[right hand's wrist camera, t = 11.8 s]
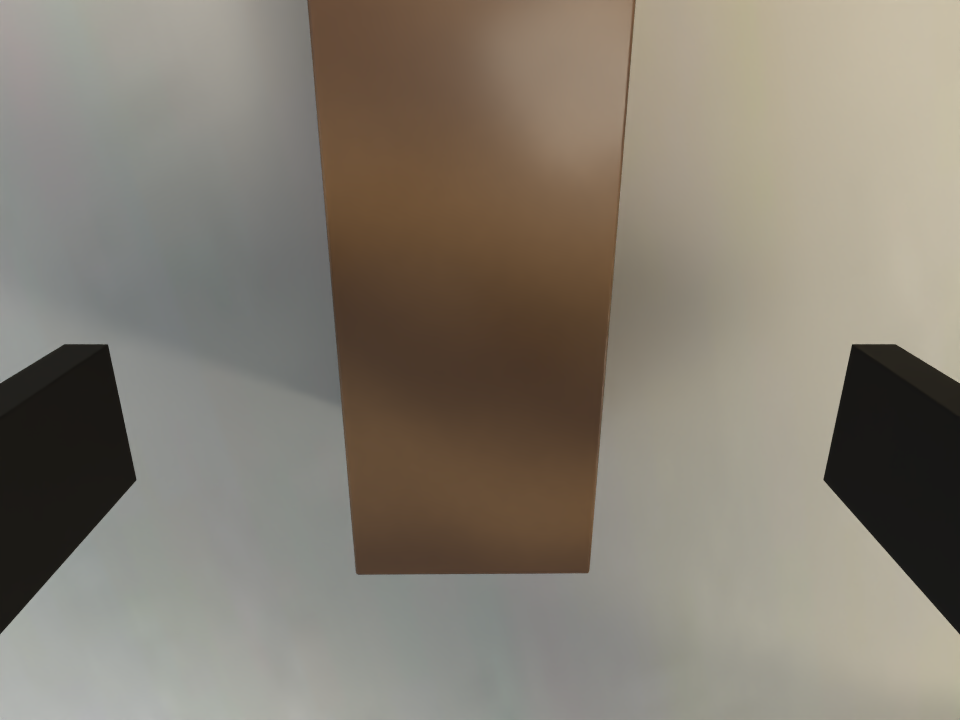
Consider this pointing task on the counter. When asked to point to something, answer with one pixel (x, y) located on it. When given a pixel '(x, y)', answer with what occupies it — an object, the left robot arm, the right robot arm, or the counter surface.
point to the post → (471, 270)
